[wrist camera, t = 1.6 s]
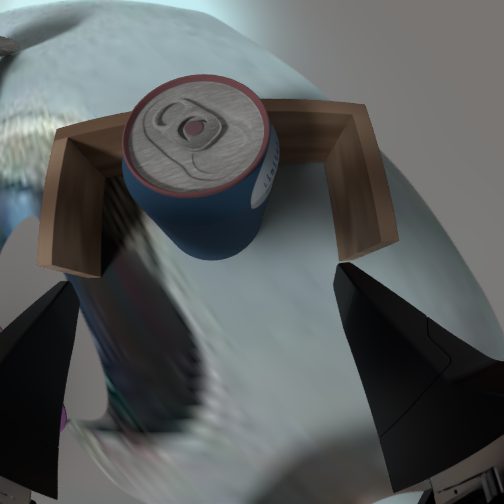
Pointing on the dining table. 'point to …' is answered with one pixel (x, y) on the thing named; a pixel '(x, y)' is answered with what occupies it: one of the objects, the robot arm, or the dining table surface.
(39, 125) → the dining table surface
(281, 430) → the dining table surface
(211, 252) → the soda can
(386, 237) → the wooden u-shaped frame
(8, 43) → the disc
